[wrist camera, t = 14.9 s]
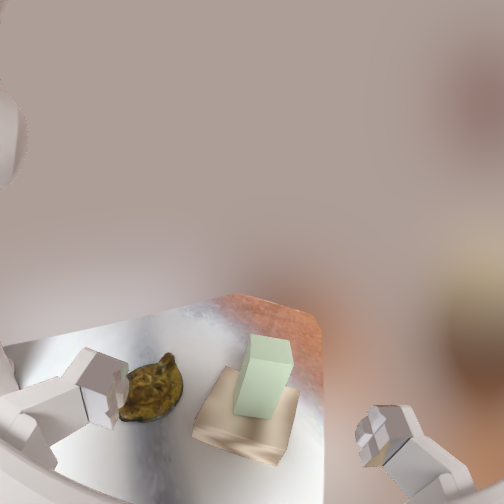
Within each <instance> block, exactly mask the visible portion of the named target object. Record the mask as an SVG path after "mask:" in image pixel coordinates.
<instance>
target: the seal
mask: <svg viewBox="0 0 504 504" xmlns="http://www.w3.org/2000/svg"><path fill="white" fill-rule="evenodd" d="M126 377H127V378H128V380H129V392H128V396H127V400H126V402H125V404H124V406H123V407H121V408H119V409H118V410H119V418H120V419H121V420H122V421H125V422H126V421H138V422H141V423H145V422H150V421H154V420H157V419H160V418H162V417H164V416H165V415H167V414H168V413H169V412H170V411H171V410H172V409H173V408H174V407H175V406H176V404H177V403H178V401H179V400H180V397H181V394H182V391H183V382H182V377H181V374H180V372H179V370H178V368H177V366H176V364H175V360H174V356H173V355H172V353H166V354H165V355H164V356H163V357H162V358H161V360H160V361H159V363H156V364H149V365H146V366H143V367H140V368H137V369H135V370H134V371H132V372H131V373H129V374H127V375H126Z"/></svg>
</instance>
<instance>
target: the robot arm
mask: <svg viewBox="0 0 504 504" xmlns="http://www.w3.org/2000/svg"><path fill="white" fill-rule="evenodd" d="M7 2H8V0H0V22H1V19H2V16H3V13H4V10H5V7H6V5H7ZM27 144H28V130H27V124H26V120H25V117H24V115H23V113H22V111H21V109H20V107H19V106H18V105H17V104H16V103H15V102H14V101H13V100H12V98H11V97H10V96H9V95H8V93H7V92H6V90H5V89H4V87H3V85H2V82H1V80H0V190H1V189H4V188H7V187H9V186H10V185H11V183H12V182H13V181H14V179H15V178H16V176H17V175H18V173H19V171H20V169H21V167H22V165H23V162H24V159H25V156H26V151H27ZM128 371H129V369H128V363H126V362H124V361H121V360H118V359H116V358H113V357H110V356H108V355H105V354H102V353H100V352H97V351H94V350H92V349H89V348H87V347H86V348H84V349H82V350H81V351H80V353H79V354H78V355H77V357H76V358H75V359H74V361H73V362H72V363H71V365H70V366H69V367H68V369H67V370H66V371H65V373H64V374H63V376H62V377H61V378H60V377H58V376H57V377H54V378H51V379H48V380H46V381H43V382H40V383H38V384H35V385H32V386H29V387H26V388H24V389H21V390H19V386H18V384H17V381H16V379H15V376H14V373H15V365H14V362H13V360H12V359H11V358H9V357H6V354H5V352H4V350H3V347H2V345H1V343H0V504H132V503H129V502H126V501H123V500H120V499H117V498H114V497H112V496H109V495H106V494H104V493H101V492H99V491H96V490H94V489H92V488H89V487H87V486H85V485H82V484H80V483H78V482H76V481H74V480H71V479H69V478H67V477H65V476H63V475H61V474H59V473H57V472H55V471H54V470H55V468H56V465H57V463H58V462H57V459H56V457H55V455H54V454H53V452H52V450H51V449H50V446H51V445H53V444H55V443H56V442H58V441H60V440H62V439H63V438H65V437H67V436H68V435H70V434H72V433H73V432H75V431H77V430H78V429H80V428H82V427H83V426H85V425H86V424H88V423H89V422H91V423H93V424H96V425H99V426H101V427H104V428H107V429H110V430H113V428H114V426H115V424H116V422H117V419H118V417H119V410H118V409H119V408H121V407H123V406H124V404H125V402H126V400H127V396H128V392H129V380H128V378H127V377H126V375H127V373H128ZM367 414H368V416H367V417H365V418H363V419H362V420H361V421H360V422H359V424H358V425H357V429H356V433H355V438H356V442H357V444H358V445H359V446H360V447H361V448H362V449H361V450H360V452H359V454H360V459H361V462H362V466H363V467H380V466H383V467H382V468H383V469H384V470H385V471H386V472H387V474H388V475H389V476H390V477H391V478H392V479H393V480H394V482H395V483H396V484H397V485H398V486H399V487H400V488H401V490H402V491H403V492H404V493H405V494H406V495H407V496H408V497H409V498H410V499H409V500H408V501H406V502H405V503H403V504H504V478H503V479H501V480H499V481H498V482H495V483H494V484H491V485H489V486H487V487H485V488H482V489H480V490H478V491H477V490H476V487H475V485H474V483H473V480H472V478H471V476H470V473H469V471H468V469H467V467H466V466H465V465H464V464H462V463H461V462H460V461H458V460H457V459H456V458H455V457H453V456H452V455H451V454H449V453H448V452H447V451H445V450H444V449H443V448H442V447H441V446H439V445H438V444H437V443H435V442H434V441H433V440H431V439H430V438H429V437H427V436H424V434H423V432H422V430H421V427H420V425H419V423H418V421H417V418H416V416H415V415H414V412H413V410H412V408H411V407H410V406H409V405H373V406H372V407H370V408H369V410H368V411H367Z"/></svg>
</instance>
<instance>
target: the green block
mask: <svg viewBox="0 0 504 504" xmlns="http://www.w3.org/2000/svg"><path fill="white" fill-rule="evenodd" d="M293 366H294V363H293V358H292V352H291V347H290V342H289V340H283V339H277V338H272V337H266V336H261V335H255V334H250V338H249V341H248V345H247V348H246V352H245V355H244V359H243V362H242V366H241V369H240V373H239V376H238V380H237V383H236V386H235V392H234V406H233V414H235V415H241V416H248V417H255V418H262V419H271V417H272V415H273V413H274V410H275V408H276V406H277V404H278V401H279V399H280V397H281V395H282V392H283V390H284V388H285V385H286V383H287V380H288V378H289V376H290V373H291V371H292V368H293Z"/></svg>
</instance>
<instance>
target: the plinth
mask: <svg viewBox="0 0 504 504" xmlns="http://www.w3.org/2000/svg"><path fill="white" fill-rule="evenodd" d="M239 373H240V371H238V370H235V369H232V368H230V367H227V366H226V367H225V369H224V370H223V372H222V374H221V375H220V377H219V379H218V381H217V382H216V384H215V386H214V387H213V389H212V391H211V393H210V394H209V396H208V398H207V399H206V401H205V403H204V404H203V406H202V408H201V409H200V411H199V413H198V414H197V416H196V418H195V420H194V427H193V434H192V438H195V439H197V440H199V441H202V442H204V443H207V444H209V445H212V446H215V447H217V448H220V449H223V450H226V451H228V452H231V453H234V454H237V455H240V456H243V457H246V458H249V459H252V460H256V461H259V462H262V463H266V464H269V465H273V466H277V464H278V463H279V461H280V460H281V458H282V456H283V455H284V453H285V452H286V450H287V446H288V442H289V438H290V434H291V429H292V425H293V421H294V417H295V412H296V408H297V403H298V399H299V394H300V390H298V389H294V388H291V387H287V386H285V388H284V390H283V392H282V395H281V397H280V399H279V401H278V404H277V406H276V408H275V410H274V413H273V415H272V417H271V419H262V418H255V417H248V416H241V415H235V414H233V406H234V392H235V386H236V383H237V380H238V376H239Z"/></svg>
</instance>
